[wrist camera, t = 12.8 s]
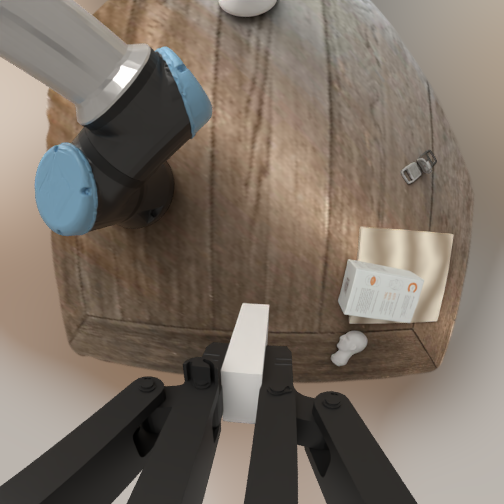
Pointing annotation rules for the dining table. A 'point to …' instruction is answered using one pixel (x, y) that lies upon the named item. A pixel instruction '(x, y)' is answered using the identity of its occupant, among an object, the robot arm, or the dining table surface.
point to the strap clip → (414, 169)
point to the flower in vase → (246, 7)
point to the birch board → (409, 264)
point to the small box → (379, 292)
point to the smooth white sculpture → (349, 347)
